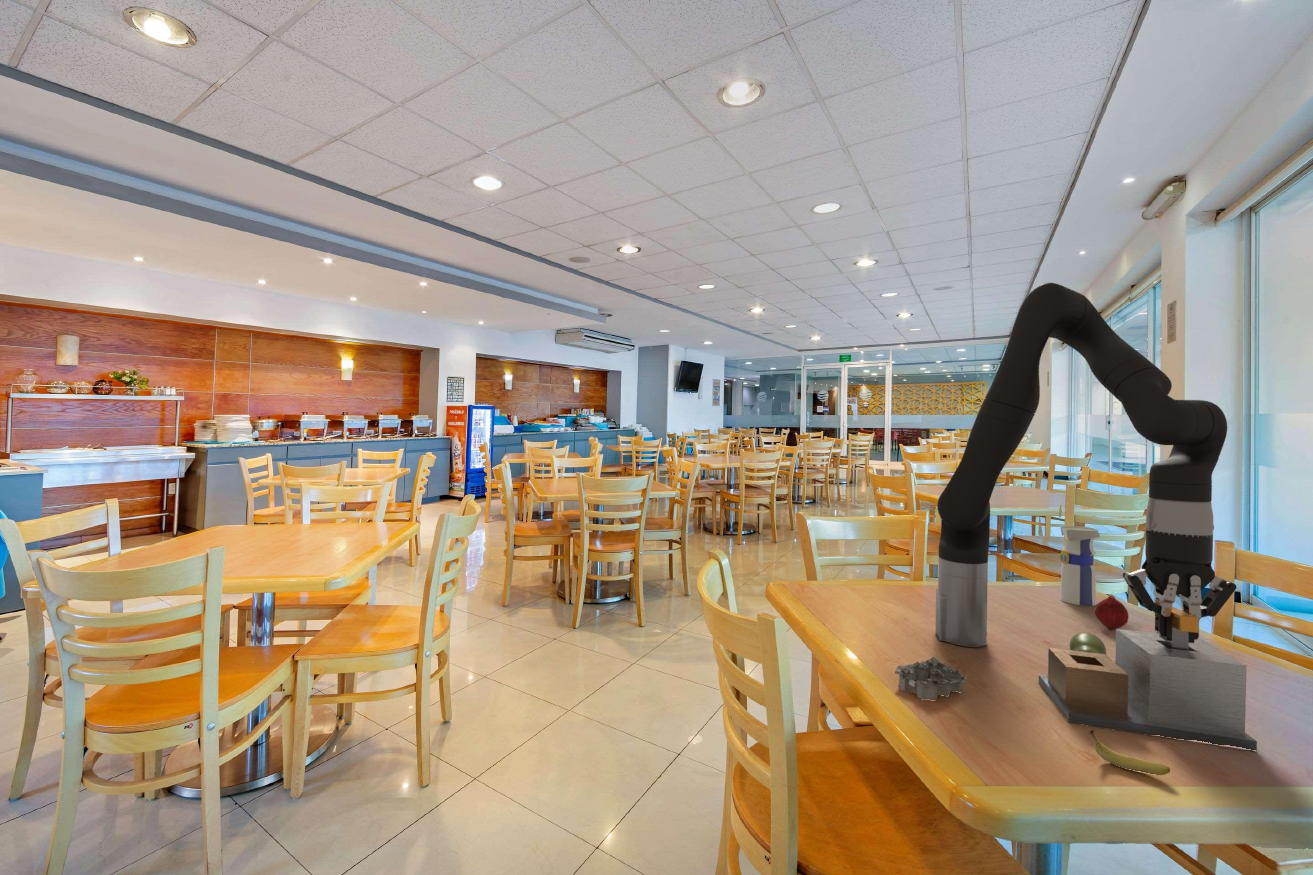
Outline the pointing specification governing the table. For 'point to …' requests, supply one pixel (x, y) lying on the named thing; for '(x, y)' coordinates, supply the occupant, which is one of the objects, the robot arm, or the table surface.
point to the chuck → (1153, 689)
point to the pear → (1087, 643)
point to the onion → (1111, 613)
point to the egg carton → (938, 684)
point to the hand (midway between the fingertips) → (1176, 639)
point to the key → (1181, 629)
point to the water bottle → (1078, 565)
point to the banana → (1128, 760)
